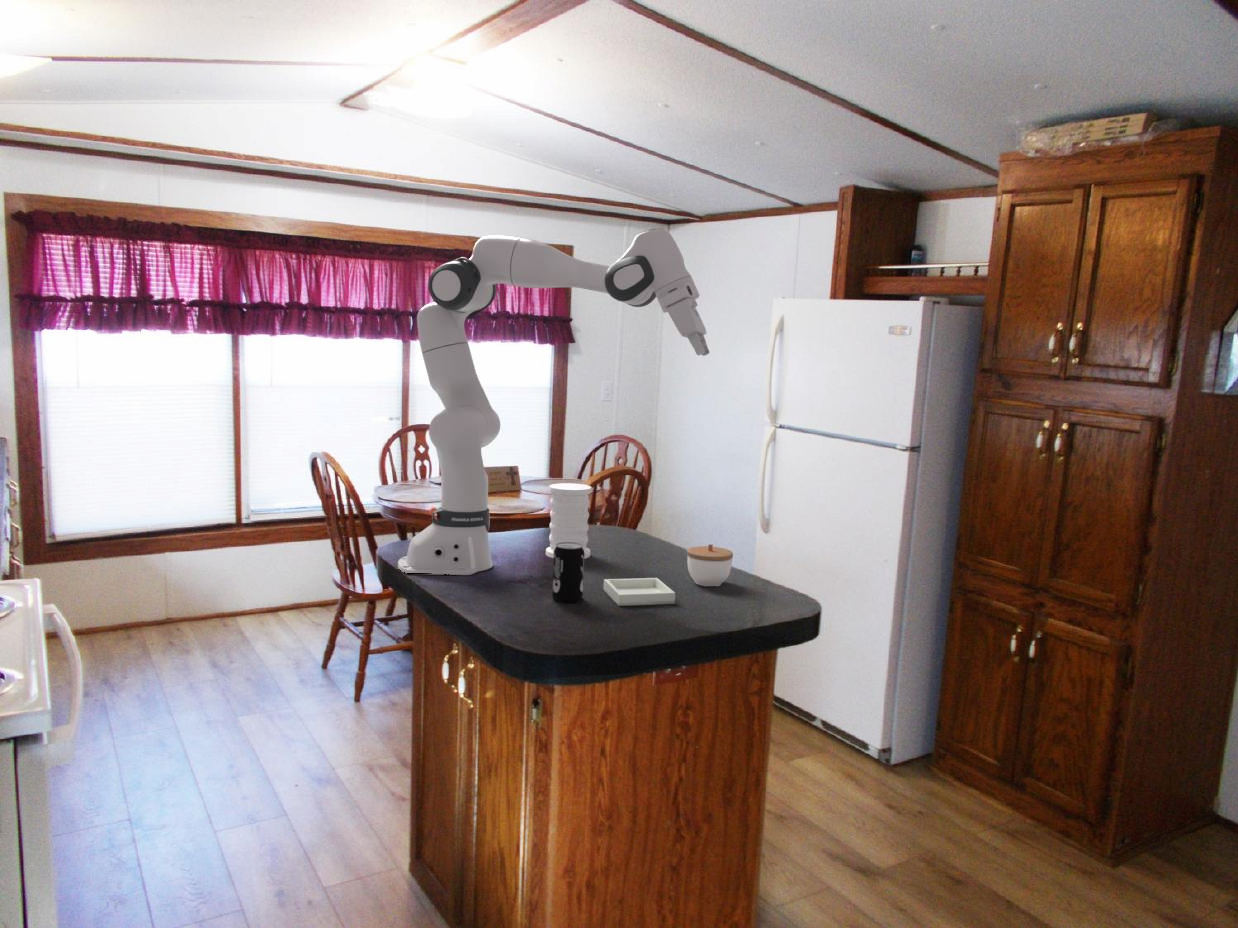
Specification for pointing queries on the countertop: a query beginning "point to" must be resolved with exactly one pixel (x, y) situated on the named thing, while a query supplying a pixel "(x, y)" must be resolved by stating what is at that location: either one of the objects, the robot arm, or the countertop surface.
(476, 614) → the countertop surface
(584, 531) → the decorative container
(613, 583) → the tray
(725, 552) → the lidded jar
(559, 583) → the beverage can
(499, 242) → the robot arm
